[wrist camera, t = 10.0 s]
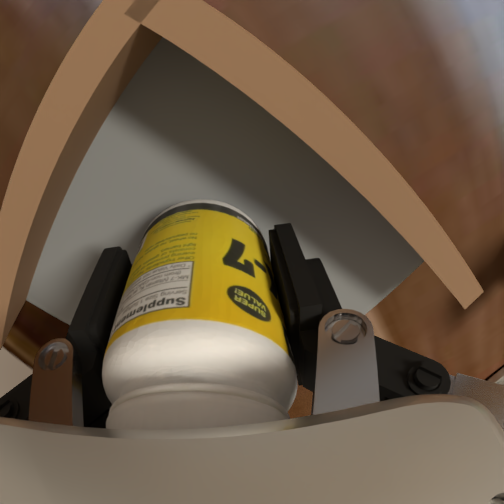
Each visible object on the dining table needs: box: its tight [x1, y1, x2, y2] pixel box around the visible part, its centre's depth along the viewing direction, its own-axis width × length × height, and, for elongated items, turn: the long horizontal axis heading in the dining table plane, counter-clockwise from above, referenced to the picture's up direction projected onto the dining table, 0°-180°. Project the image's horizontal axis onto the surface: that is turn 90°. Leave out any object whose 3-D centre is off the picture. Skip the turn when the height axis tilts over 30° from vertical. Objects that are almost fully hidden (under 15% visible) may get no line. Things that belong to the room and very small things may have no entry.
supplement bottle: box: [102, 199, 297, 430], centre depth 9 cm, size 5×5×8 cm
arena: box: [0, 0, 484, 350], centre depth 13 cm, size 17×15×4 cm
